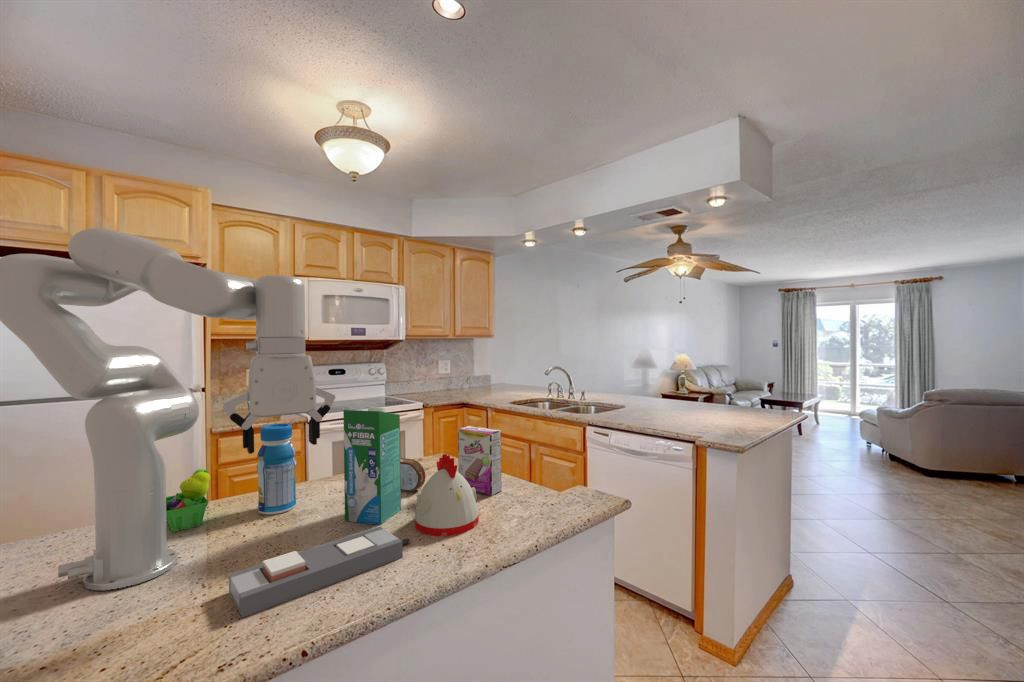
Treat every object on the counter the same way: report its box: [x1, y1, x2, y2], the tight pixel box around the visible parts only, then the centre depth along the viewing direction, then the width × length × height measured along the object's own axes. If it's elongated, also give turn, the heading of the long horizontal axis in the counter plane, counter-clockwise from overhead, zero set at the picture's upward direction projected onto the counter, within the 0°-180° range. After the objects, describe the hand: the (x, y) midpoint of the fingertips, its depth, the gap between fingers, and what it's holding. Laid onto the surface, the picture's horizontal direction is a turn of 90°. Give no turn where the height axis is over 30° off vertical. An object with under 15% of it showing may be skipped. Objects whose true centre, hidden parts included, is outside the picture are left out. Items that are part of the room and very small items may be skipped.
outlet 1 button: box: [262, 550, 305, 583], centre depth 73 cm, size 5×5×2 cm
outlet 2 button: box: [336, 536, 375, 557], centre depth 81 cm, size 5×5×2 cm
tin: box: [400, 457, 426, 493], centre depth 120 cm, size 15×3×8 cm, turn 68°
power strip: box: [228, 526, 411, 618], centre depth 78 cm, size 30×9×3 cm, turn 133°
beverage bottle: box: [256, 423, 297, 516], centre depth 107 cm, size 8×8×20 cm
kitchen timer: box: [414, 453, 480, 537], centre depth 98 cm, size 14×14×15 cm
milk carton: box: [342, 406, 402, 526], centre depth 102 cm, size 9×9×25 cm
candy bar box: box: [457, 425, 502, 497], centre depth 118 cm, size 11×5×16 cm, turn 58°
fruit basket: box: [166, 468, 211, 533], centre depth 100 cm, size 11×9×11 cm
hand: (282, 447), depth 77 cm, fingers open, 9 cm apart
